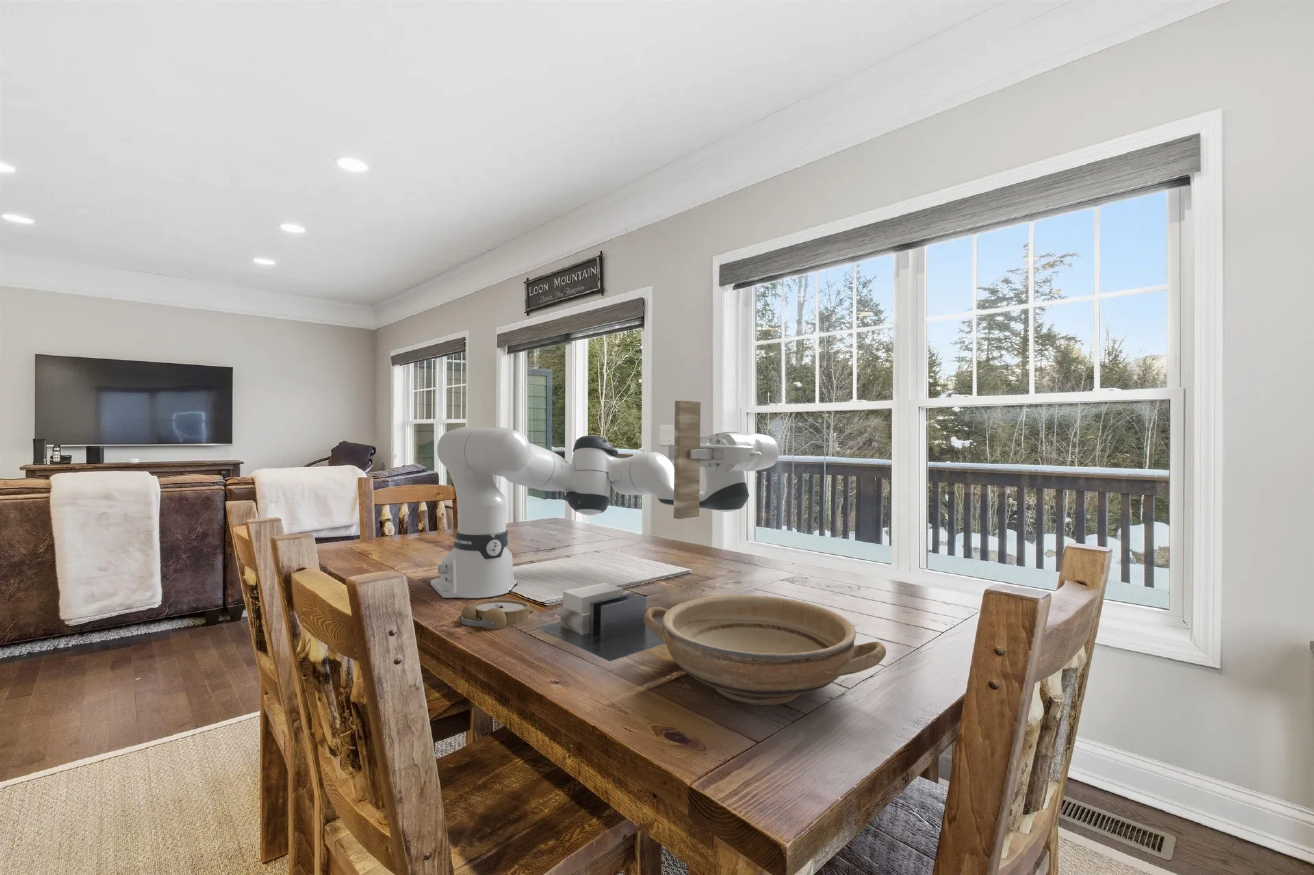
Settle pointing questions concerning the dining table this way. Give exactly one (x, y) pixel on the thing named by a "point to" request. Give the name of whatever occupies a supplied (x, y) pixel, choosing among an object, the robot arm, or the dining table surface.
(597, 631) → the slot rack
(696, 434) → the birch board
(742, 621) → the ceramic bowl
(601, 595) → the offcut upper
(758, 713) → the dining table surface
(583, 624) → the offcut lower
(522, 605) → the alarm clock
